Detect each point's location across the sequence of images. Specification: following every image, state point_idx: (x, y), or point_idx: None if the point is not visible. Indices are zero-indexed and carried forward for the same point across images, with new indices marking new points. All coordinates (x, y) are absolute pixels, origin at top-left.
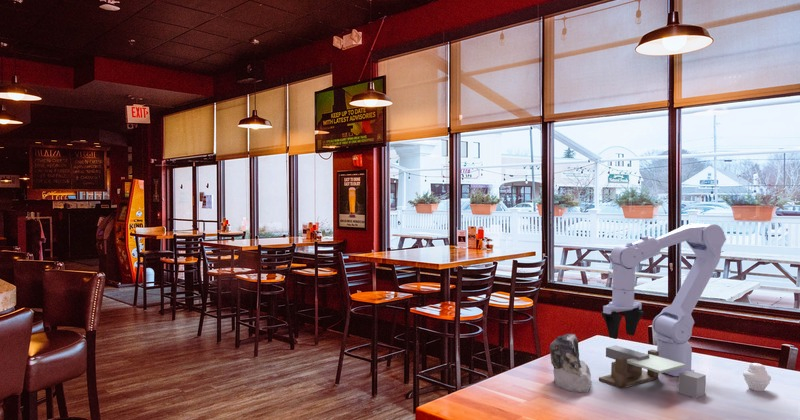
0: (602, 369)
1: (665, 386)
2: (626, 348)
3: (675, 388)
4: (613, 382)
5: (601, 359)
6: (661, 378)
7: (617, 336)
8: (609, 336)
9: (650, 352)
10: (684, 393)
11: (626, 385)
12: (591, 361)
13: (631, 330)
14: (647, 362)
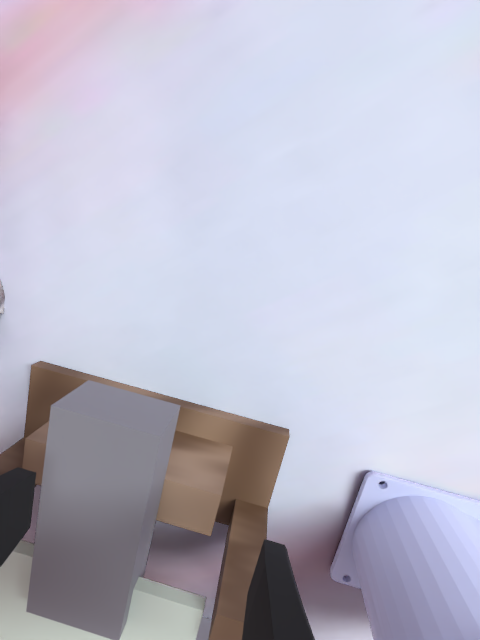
0: (193, 309)
1: (182, 563)
2: (144, 511)
3: (189, 591)
4: (25, 431)
5: (363, 228)
6: (269, 533)
7: (10, 549)
8: (7, 473)
9: (214, 618)
10: None
11: None
12: (281, 205)
13: (250, 632)
14: (37, 630)
